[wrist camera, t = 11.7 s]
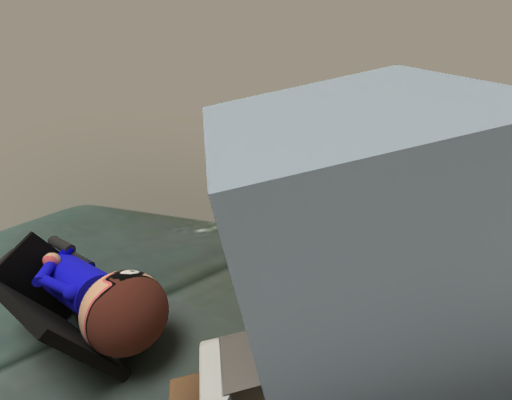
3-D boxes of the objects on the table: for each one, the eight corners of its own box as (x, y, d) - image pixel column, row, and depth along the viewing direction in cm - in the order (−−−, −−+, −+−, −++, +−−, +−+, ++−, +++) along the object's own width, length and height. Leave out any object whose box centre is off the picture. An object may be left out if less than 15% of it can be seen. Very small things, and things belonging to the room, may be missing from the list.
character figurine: (89, 277, 32) (196, 349, 23) (2, 328, 27) (93, 444, 18) (59, 202, 29) (169, 250, 20) (-47, 244, 24) (34, 334, 15)
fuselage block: (393, 419, 14) (397, 64, 8) (470, 570, 10) (604, 102, 4) (288, 448, 14) (202, 107, 8) (324, 614, 10) (208, 194, 4)
